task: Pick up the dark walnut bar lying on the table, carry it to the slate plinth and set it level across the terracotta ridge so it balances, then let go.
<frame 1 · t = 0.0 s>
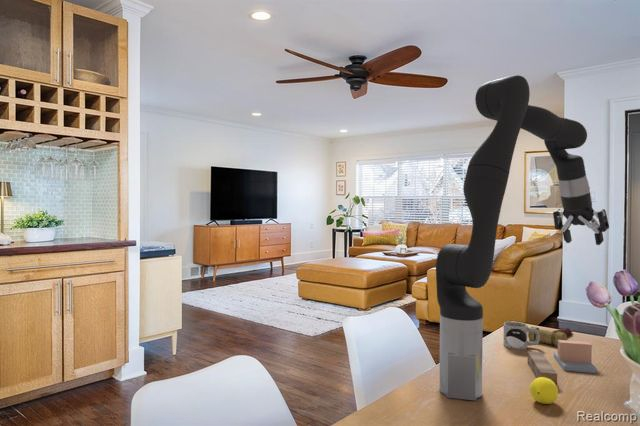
hand: (583, 243, 134), 31 cm above the table, tool tilted 20°, fingers open, 8 cm apart
walnut bar: (541, 375, 113), on the table
mug: (521, 347, 135), on the table
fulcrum: (574, 364, 120), on the table
lemon: (543, 403, 96), on the table
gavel: (558, 340, 144), on the table
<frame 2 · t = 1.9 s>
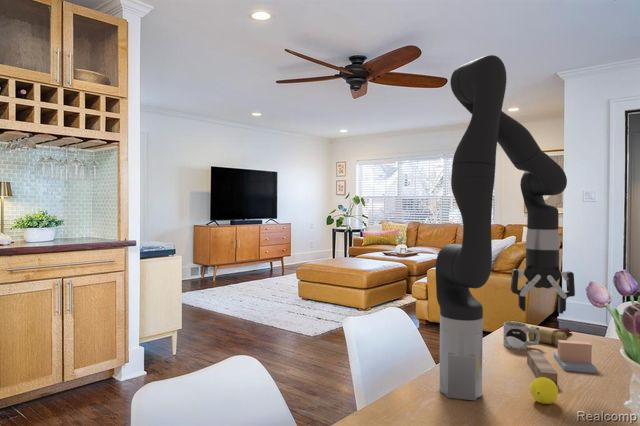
hand: (541, 311, 113), 16 cm above the table, tool pointing down, fingers open, 8 cm apart
nothing on the table moved.
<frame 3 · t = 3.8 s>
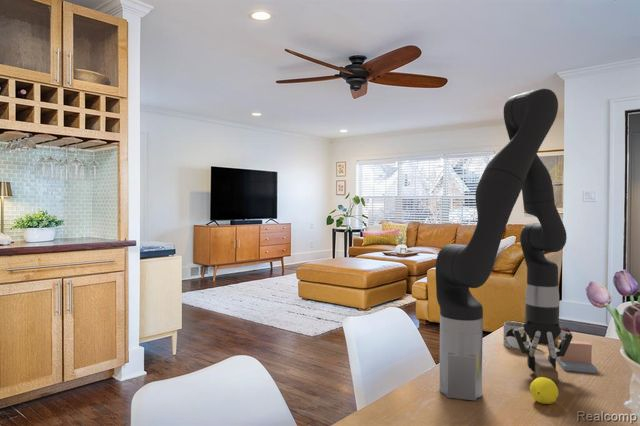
hand: (541, 370, 113), 1 cm above the table, tool pointing down, fingers closed on walnut bar, 3 cm apart
walnut bar: (541, 374, 113), on the table, touching gripper
everything else where it was.
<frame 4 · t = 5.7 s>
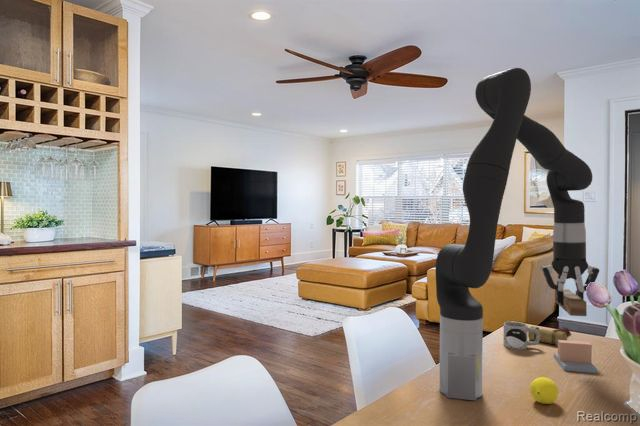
hand: (569, 304, 118), 16 cm above the table, tool pointing down, fingers closed on walnut bar, 3 cm apart
walnut bar: (569, 308, 118), point 15 cm above the table, touching gripper
everything else where it was.
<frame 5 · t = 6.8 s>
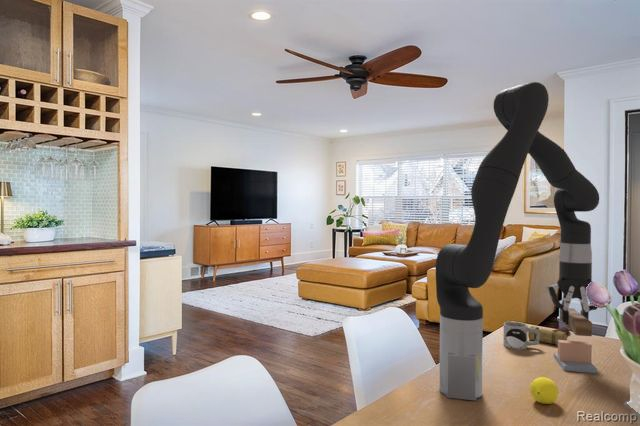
hand: (574, 324, 120), 11 cm above the table, tool pointing down, fingers closed on walnut bar, 3 cm apart
walnut bar: (574, 327, 120), point 10 cm above the table, touching gripper
when the fingers open (8 cm above the table, at t = 7.7 s): walnut bar stays where it is, resting on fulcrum.
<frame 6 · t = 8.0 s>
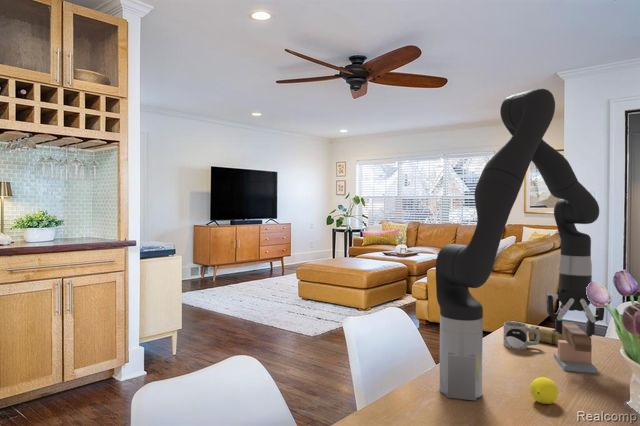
hand: (574, 334, 120), 8 cm above the table, tool pointing down, fingers open, 6 cm apart
walnut bar: (574, 342, 120), point 6 cm above the table, touching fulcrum
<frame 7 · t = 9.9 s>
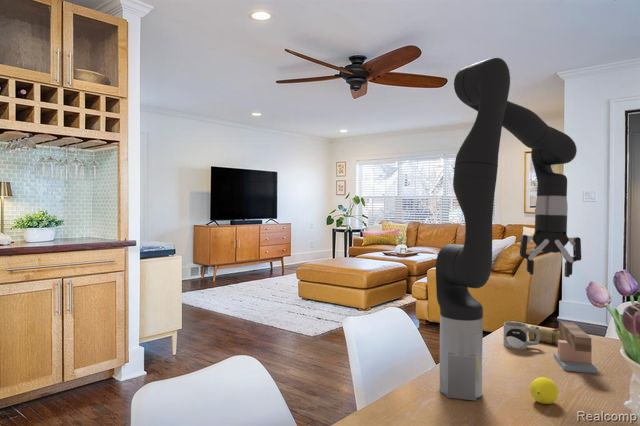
hand: (548, 275, 118), 24 cm above the table, tool pointing down, fingers open, 8 cm apart
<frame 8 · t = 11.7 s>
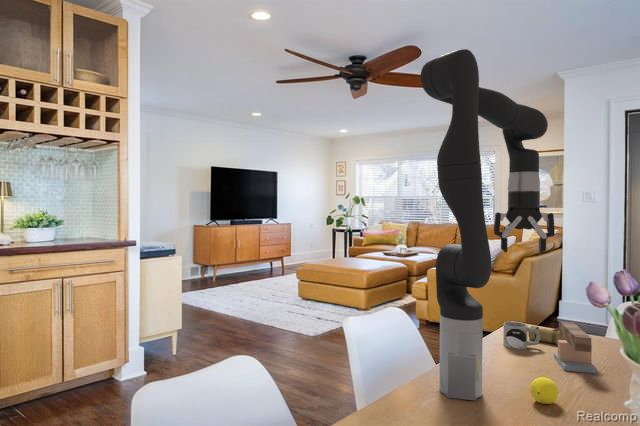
hand: (523, 252, 116), 30 cm above the table, tool pointing down, fingers open, 8 cm apart
at the end: walnut bar inside the target area on the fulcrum (0.1 cm from its centre), point 6.0 cm above the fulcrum's base; walnut bar touching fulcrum; walnut bar tilted 0° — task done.
